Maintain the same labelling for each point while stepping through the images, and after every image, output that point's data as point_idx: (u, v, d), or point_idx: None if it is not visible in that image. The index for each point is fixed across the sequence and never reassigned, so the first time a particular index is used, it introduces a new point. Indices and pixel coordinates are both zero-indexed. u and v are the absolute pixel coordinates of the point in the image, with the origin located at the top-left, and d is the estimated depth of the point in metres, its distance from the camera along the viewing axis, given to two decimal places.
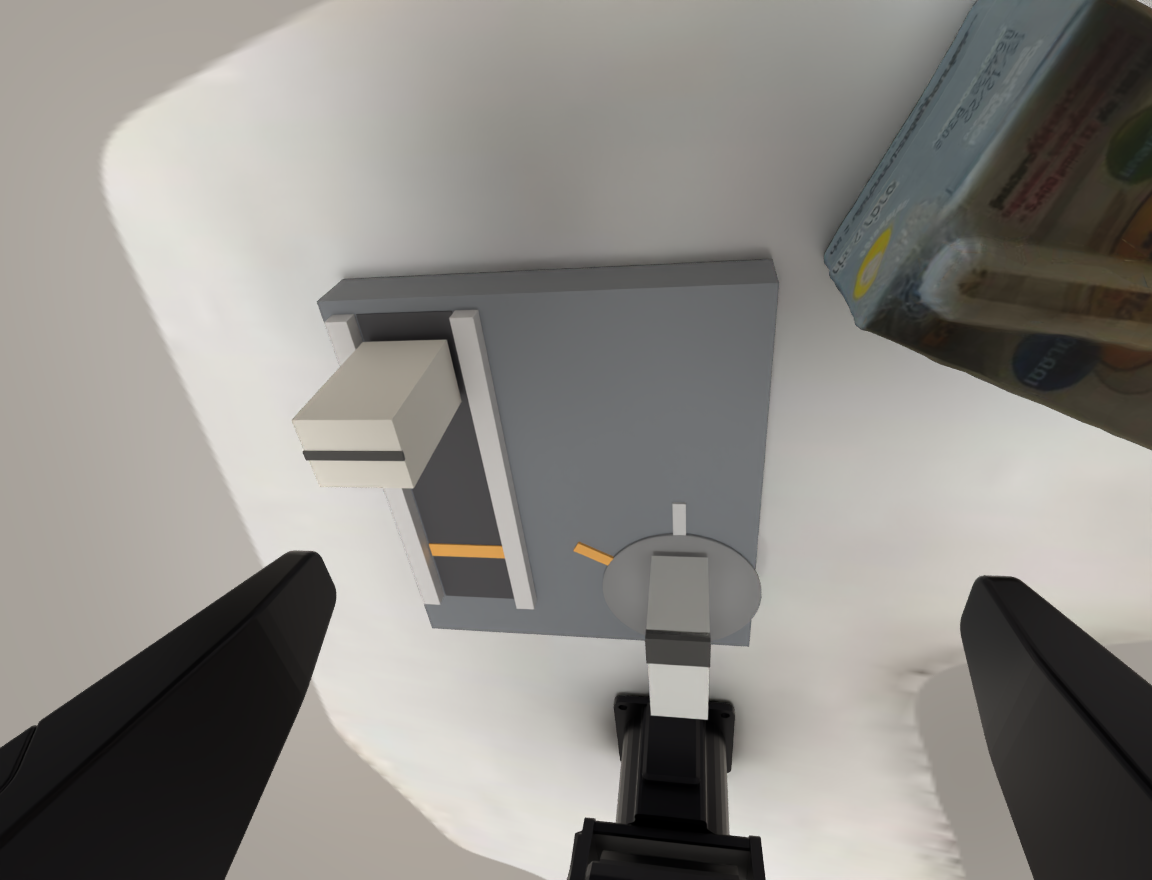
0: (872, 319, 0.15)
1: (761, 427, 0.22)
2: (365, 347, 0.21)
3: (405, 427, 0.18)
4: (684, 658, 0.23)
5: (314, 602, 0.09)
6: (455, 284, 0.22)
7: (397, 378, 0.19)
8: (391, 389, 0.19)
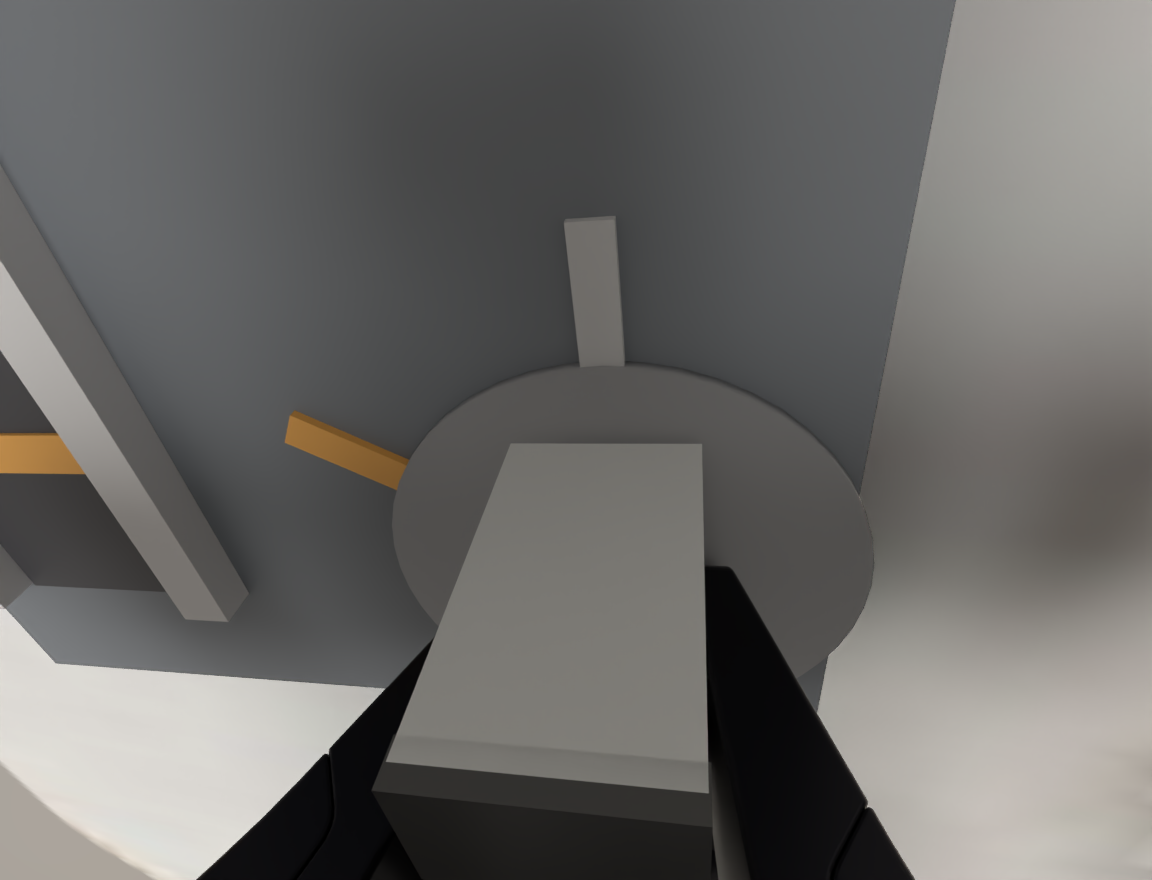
0: None
1: None
2: None
3: None
4: (585, 878, 0.05)
5: None
6: None
7: None
8: None
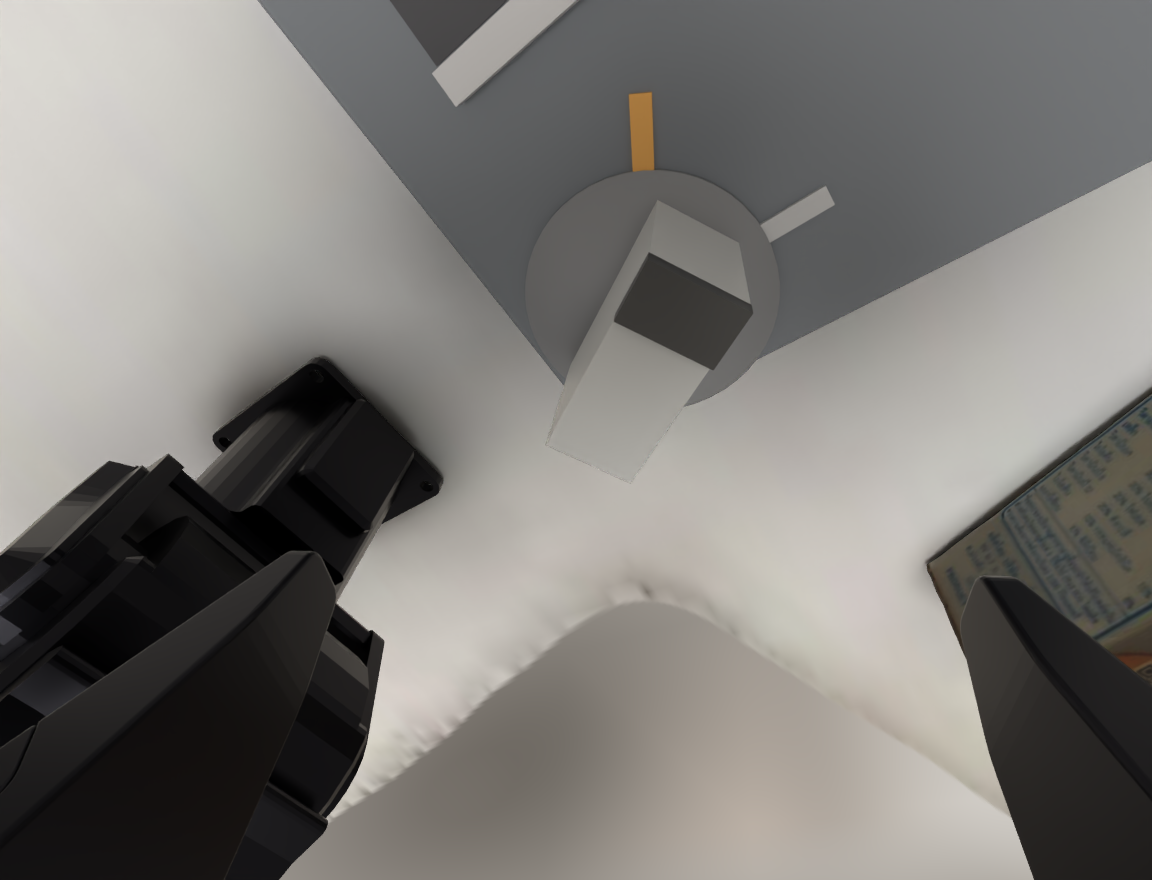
0: None
1: (1030, 213, 0.14)
2: None
3: None
4: (686, 333, 0.12)
5: (314, 602, 0.09)
6: None
7: None
8: None
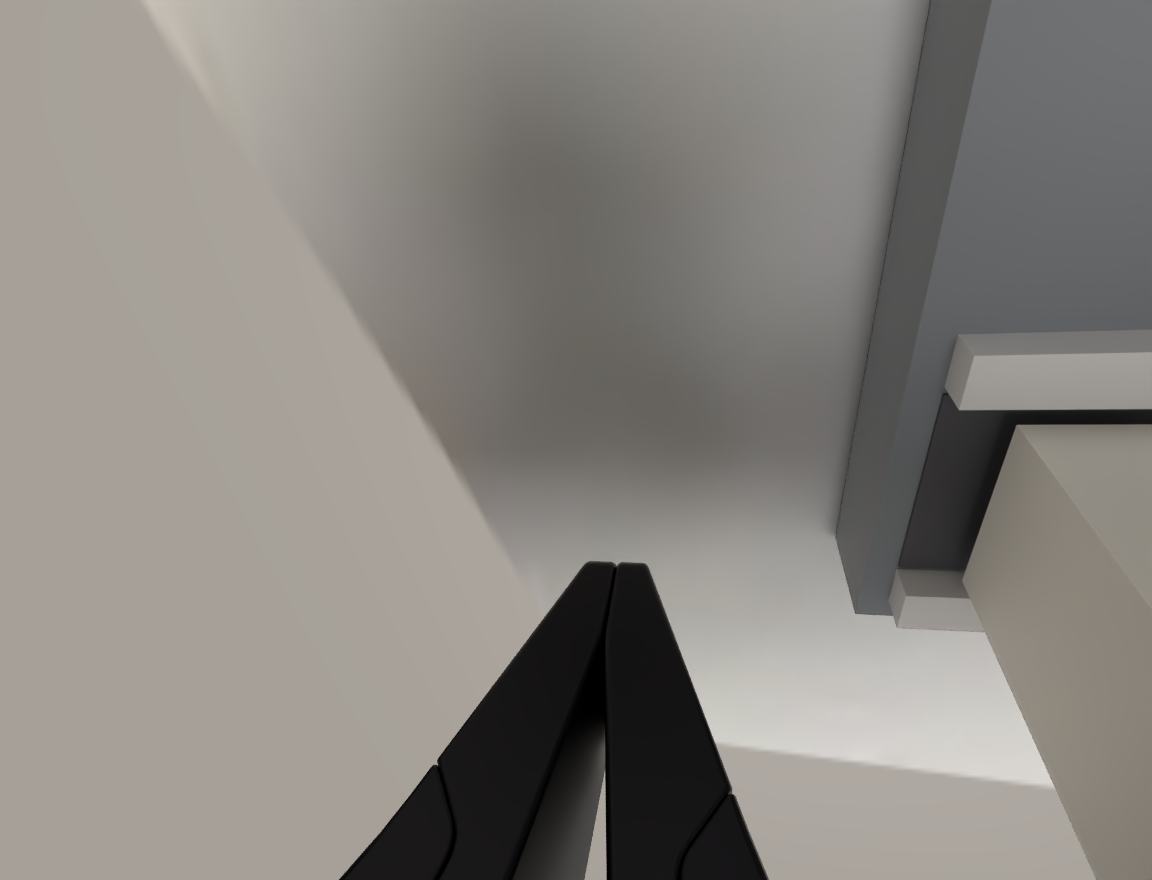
0: None
1: None
2: (976, 588, 0.10)
3: None
4: None
5: None
6: (885, 364, 0.10)
7: (1092, 613, 0.07)
8: (1127, 659, 0.06)
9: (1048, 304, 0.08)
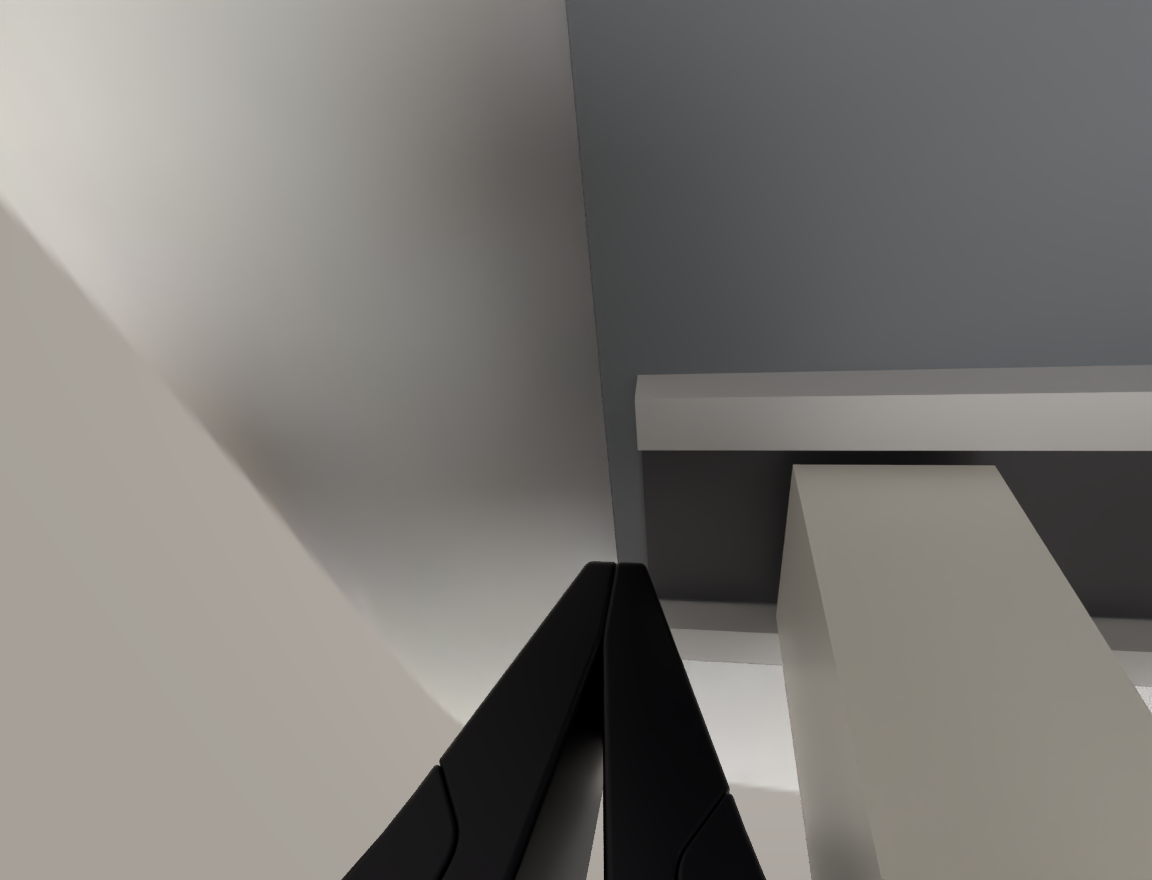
0: None
1: None
2: (780, 626, 0.10)
3: (957, 803, 0.05)
4: None
5: None
6: None
7: (818, 666, 0.07)
8: (828, 717, 0.06)
9: (711, 347, 0.08)
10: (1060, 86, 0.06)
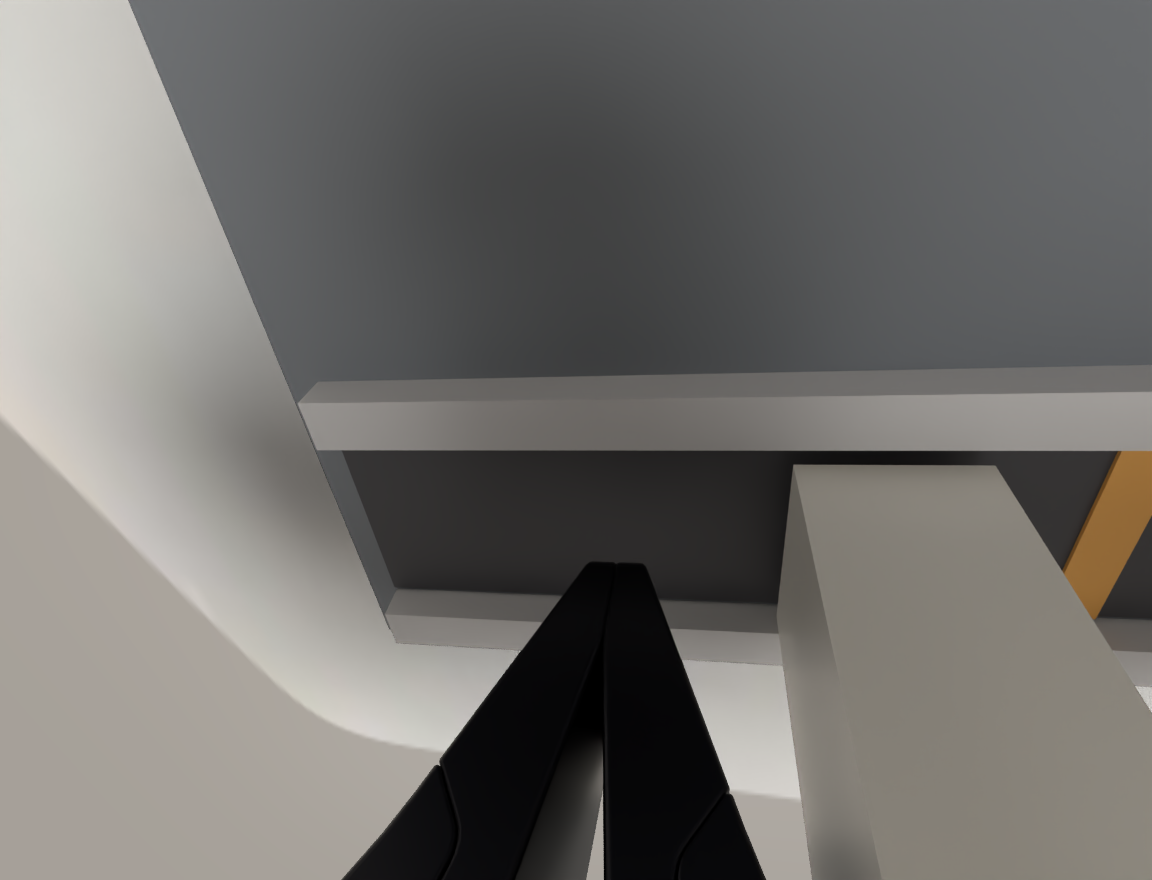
0: None
1: None
2: (781, 626, 0.10)
3: (958, 803, 0.05)
4: None
5: None
6: None
7: (819, 666, 0.07)
8: (829, 717, 0.06)
9: (371, 356, 0.09)
10: (575, 130, 0.07)
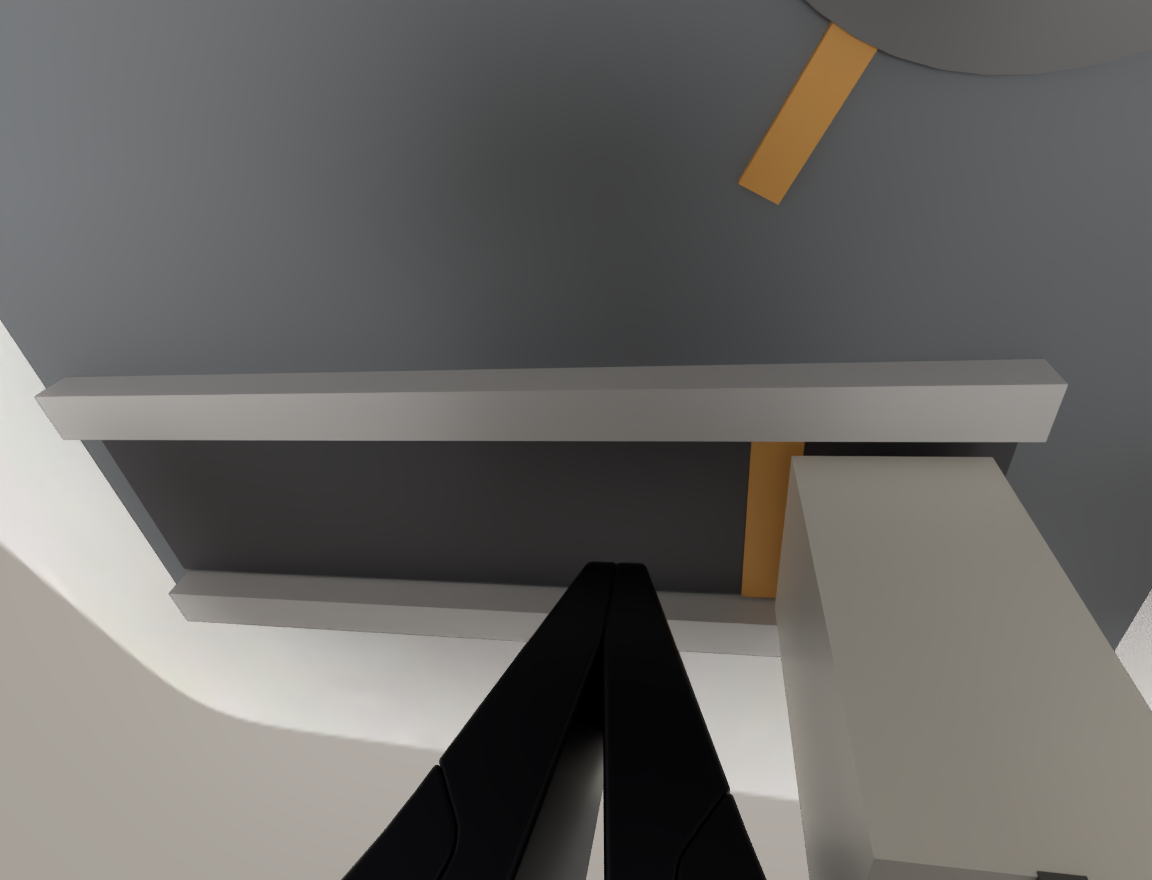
0: None
1: None
2: (779, 617, 0.10)
3: (950, 786, 0.05)
4: None
5: None
6: None
7: (814, 654, 0.07)
8: (825, 704, 0.06)
9: (103, 354, 0.10)
10: (213, 153, 0.08)
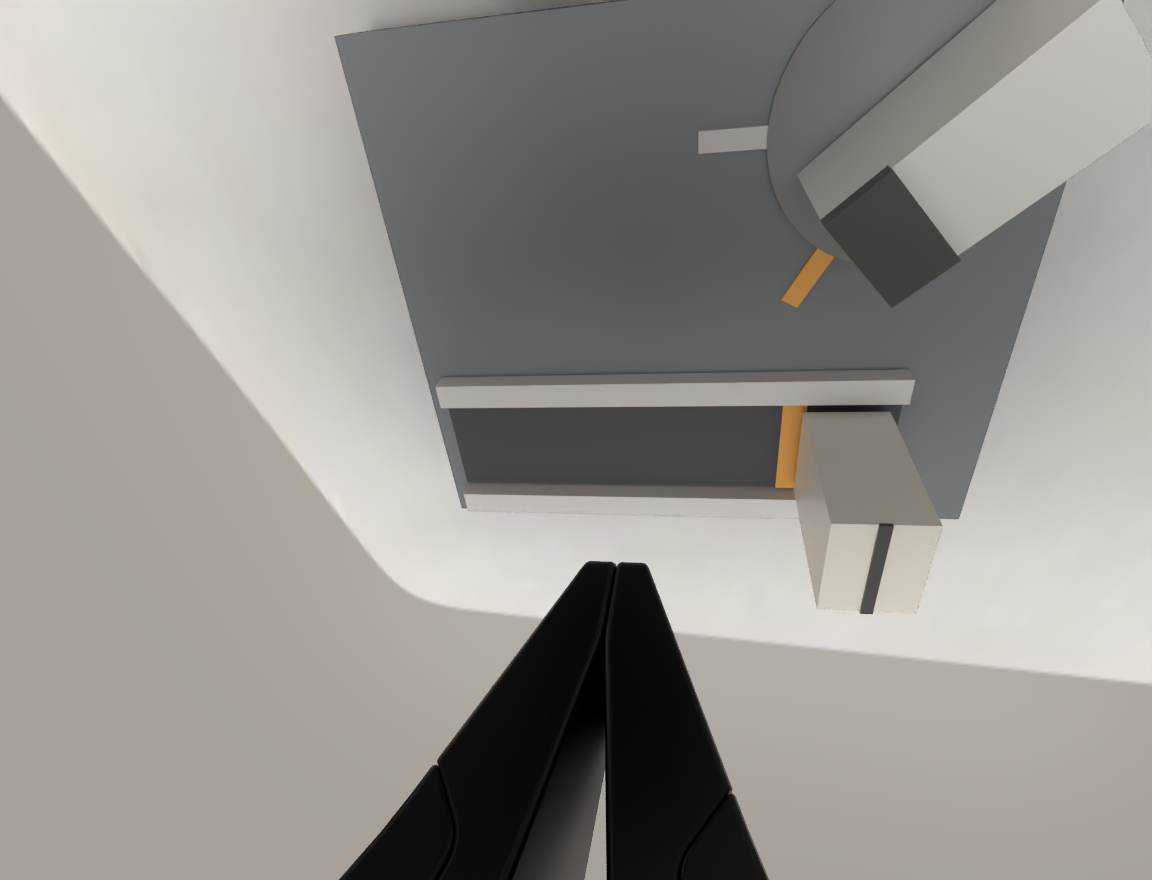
0: None
1: (545, 20, 0.15)
2: (796, 492, 0.20)
3: (856, 508, 0.15)
4: (897, 223, 0.12)
5: None
6: None
7: (813, 486, 0.17)
8: (816, 499, 0.17)
9: (467, 366, 0.20)
10: (555, 282, 0.18)
